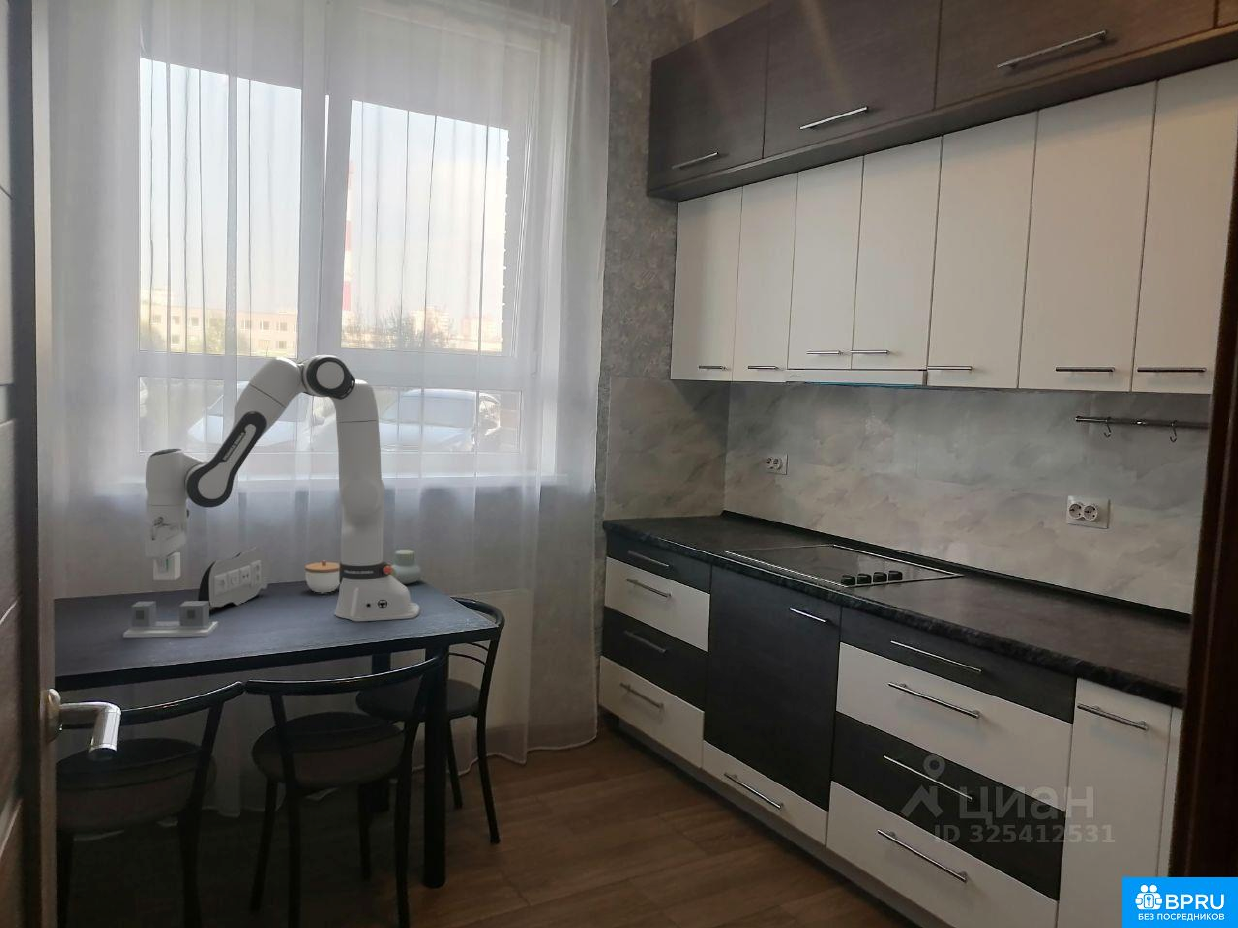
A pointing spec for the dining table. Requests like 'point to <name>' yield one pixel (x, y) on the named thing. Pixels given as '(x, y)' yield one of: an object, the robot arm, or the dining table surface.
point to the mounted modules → (188, 613)
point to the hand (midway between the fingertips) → (166, 570)
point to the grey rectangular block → (171, 626)
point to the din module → (173, 567)
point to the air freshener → (405, 567)
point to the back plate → (170, 632)
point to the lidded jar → (322, 576)
